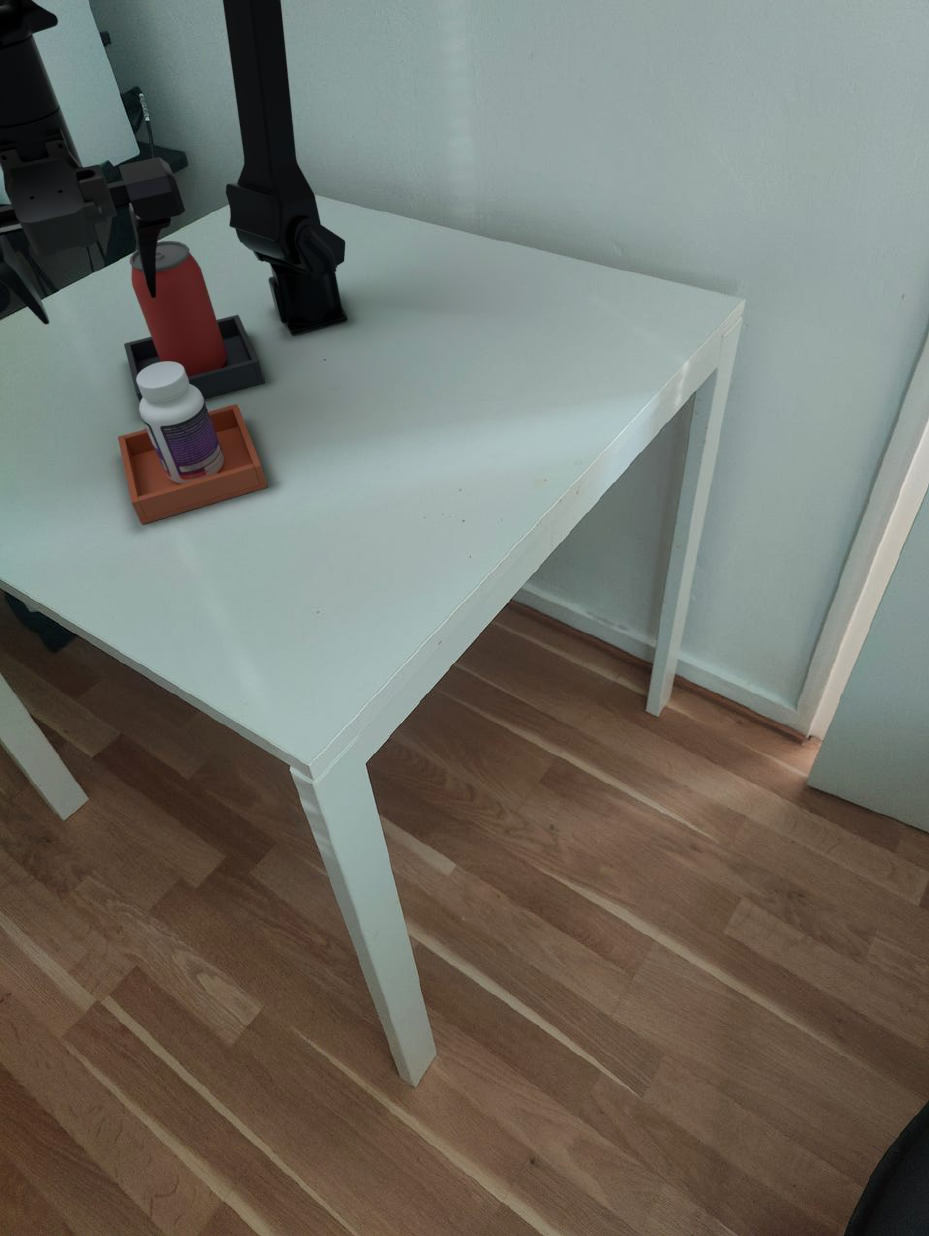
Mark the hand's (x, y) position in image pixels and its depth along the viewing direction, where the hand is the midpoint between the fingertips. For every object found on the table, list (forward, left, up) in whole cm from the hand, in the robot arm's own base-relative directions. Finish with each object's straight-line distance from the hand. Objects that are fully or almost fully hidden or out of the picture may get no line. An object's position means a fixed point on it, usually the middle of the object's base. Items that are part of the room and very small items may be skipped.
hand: (100, 308), depth 76 cm
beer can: (-6, -7, -12) cm, 15 cm away
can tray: (-6, -7, -12) cm, 15 cm away
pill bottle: (-3, +10, -12) cm, 16 cm away
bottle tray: (-3, +10, -12) cm, 16 cm away
